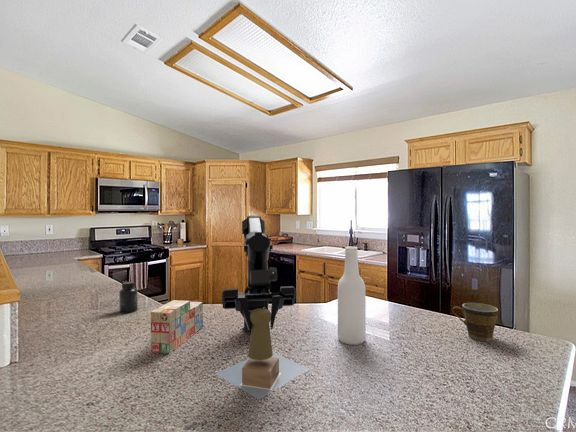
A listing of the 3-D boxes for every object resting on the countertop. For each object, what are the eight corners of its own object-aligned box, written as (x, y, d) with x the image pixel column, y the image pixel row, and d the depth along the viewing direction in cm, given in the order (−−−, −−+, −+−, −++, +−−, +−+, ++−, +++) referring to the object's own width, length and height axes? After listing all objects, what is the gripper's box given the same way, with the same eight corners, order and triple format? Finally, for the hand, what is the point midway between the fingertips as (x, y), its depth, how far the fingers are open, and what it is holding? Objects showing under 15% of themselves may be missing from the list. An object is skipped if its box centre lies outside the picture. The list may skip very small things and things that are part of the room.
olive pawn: (244, 352, 76) (244, 307, 76) (266, 347, 79) (266, 304, 79) (253, 362, 71) (254, 314, 71) (277, 356, 74) (277, 310, 74)
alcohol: (332, 337, 102) (332, 246, 101) (354, 332, 105) (354, 245, 105) (347, 347, 94) (347, 249, 93) (371, 342, 97) (371, 247, 97)
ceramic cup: (495, 334, 103) (495, 304, 103) (501, 346, 94) (501, 313, 94) (451, 328, 109) (451, 300, 109) (453, 339, 100) (453, 308, 100)
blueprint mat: (266, 351, 91) (266, 349, 91) (309, 369, 80) (309, 368, 80) (214, 374, 78) (214, 373, 78) (258, 400, 67) (258, 399, 67)
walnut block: (253, 370, 80) (253, 354, 80) (279, 373, 78) (278, 357, 78) (242, 384, 73) (242, 367, 73) (270, 388, 71) (270, 371, 71)
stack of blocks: (187, 326, 112) (187, 292, 112) (203, 327, 111) (203, 293, 111) (150, 352, 91) (150, 311, 91) (169, 354, 90) (169, 312, 90)
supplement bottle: (132, 307, 135) (132, 280, 135) (140, 310, 131) (140, 282, 131) (116, 311, 129) (116, 283, 129) (124, 314, 125) (124, 285, 125)
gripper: (222, 257, 77) (219, 315, 67) (295, 255, 80) (303, 311, 70) (223, 281, 85) (221, 337, 75) (290, 279, 88) (297, 332, 78)
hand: (260, 329), depth 74 cm, fingers closed on olive pawn, 5 cm apart
